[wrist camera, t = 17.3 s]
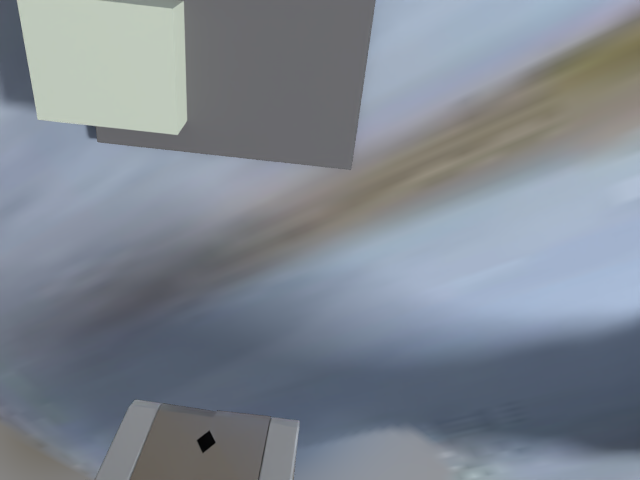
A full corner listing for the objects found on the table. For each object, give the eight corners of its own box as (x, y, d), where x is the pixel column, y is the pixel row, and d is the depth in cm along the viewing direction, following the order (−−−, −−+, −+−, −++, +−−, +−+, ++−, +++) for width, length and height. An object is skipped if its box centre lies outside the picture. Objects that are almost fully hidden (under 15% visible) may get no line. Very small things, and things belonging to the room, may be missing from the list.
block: (172, 8, 25) (15, -10, 25) (177, 135, 28) (37, 119, 28) (183, 1, 27) (36, -16, 27) (187, 120, 30) (55, 106, 30)
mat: (378, -30, 26) (379, -28, 26) (351, 165, 32) (351, 169, 31) (78, -65, 26) (73, -64, 26) (101, 138, 31) (97, 142, 31)
